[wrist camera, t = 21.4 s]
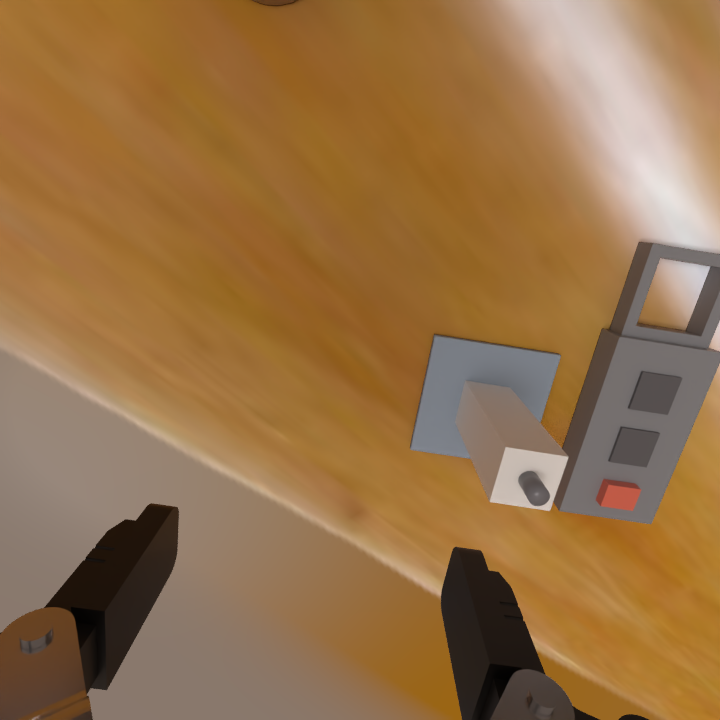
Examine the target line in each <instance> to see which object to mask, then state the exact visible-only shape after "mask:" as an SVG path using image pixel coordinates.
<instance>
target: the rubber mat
mask: <svg viewBox="0 0 720 720" xmlns="http://www.w3.org/2000/svg"><path fill="white" fill-rule="evenodd" d="M560 357H561V355H559V354H557V353H551V352H544V351H538V350H531V349H525V348H519V347H512V346H506V345H499V344H493V343H487V342H480V341H474V340H467V339H461V338H455V337H448V336H442V335H435V334H434V337H433V342H432V347H431V351H430V356H429V361H428V365H427V370H426V375H425V379H424V384H423V389H422V393H421V398H420V403H419V407H418V412H417V417H416V421H415V426H414V431H413V435H412V440H411V445H410V449H411V450H415V451H422V452H429V453H436V454H443V455H449V456H456V457H463V458H470V456H469V453H468V451H467V449H466V446H465V444H464V442H463V439H462V437H461V435H460V433H459V430H458V428H457V426H456V423H455V419H456V415H457V411H458V407H459V403H460V399H461V395H462V391H463V387H464V383H465V380H466V381H472V382H478V383H485V384H491V385H497V386H503V387H510V388H511V389H512V390H513V392H514V393H515V394H516V395H517V396H518V398H519V399H520V400H521V401H522V402H523V403H524V405H525V406H526V407H527V408H528V409H529V410H530V412H531V413H532V414H533V415H534V416H535V418H536V419H537V420H538V421H539V422H541V419H542V416H543V412H544V409H545V406H546V403H547V399H548V396H549V393H550V390H551V386H552V383H553V380H554V377H555V373H556V370H557V367H558V364H559V360H560ZM470 459H471V458H470Z"/></svg>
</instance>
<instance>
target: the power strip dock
mask: <svg viewBox="0 0 720 720" xmlns="http://www.w3.org/2000/svg"><path fill="white" fill-rule="evenodd" d="M660 258H664V259H670V260H676V261H682V262H688V263H694V264H701V265H707V266H711V268H710V271H709V273H708V276H707V278H706V281H705V284H704V286H703V289H702V291H701V294H700V296H699V299H698V301H697V304H696V307H695V309H694V312H693V314H692V317H691V319H690V322H689V324H688V327H687V330H686V331H682V330H676V329H670V328H664V327H657V326H651V325H645V324H639V323H637V322H638V319H639V316H640V313H641V310H642V308H643V305H644V302H645V299H646V296H647V293H648V291H649V288H650V285H651V282H652V279H653V277H654V274H655V271H656V268H657V265H658V263H659V260H660ZM719 320H720V254H714V253H708V252H702V251H696V250H690V249H684V248H678V247H672V246H666V245H660V244H654V243H643V242H639V244H638V247H637V250H636V253H635V256H634V259H633V262H632V265H631V268H630V270H629V273H628V276H627V279H626V282H625V285H624V288H623V291H622V294H621V297H620V300H619V303H618V306H617V309H616V312H615V315H614V318H613V321H612V324H611V327H610V330H607V329H602V331H601V334H600V337H599V340H598V343H597V346H596V349H595V352H594V355H593V358H592V361H591V364H590V367H589V370H588V373H587V376H586V379H585V382H584V385H583V388H582V391H581V394H580V397H579V400H578V403H577V406H576V409H575V412H574V415H573V418H572V421H571V424H570V427H569V430H568V433H567V436H566V439H565V442H564V445H563V448H562V449H563V451H564V452H565V453H566V454H567V455H568V457H569V458H568V461H567V463H566V466H565V469H564V472H563V475H562V478H561V481H560V484H559V486H558V489H557V492H556V495H555V498H554V501H553V502H554V503H555V505H556V507H557V508H558V510H559V511H563V512H570V513H577V514H584V515H591V516H598V517H605V518H612V519H619V520H626V521H633V522H640V523H647V524H651V523H652V521H653V519H654V516H655V514H656V512H657V509H658V507H659V505H660V502H661V500H662V497H663V495H664V493H665V490H666V488H667V486H668V483H669V481H670V479H671V476H672V474H673V472H674V469H675V467H676V465H677V462H678V460H679V458H680V455H681V453H682V450H683V448H684V446H685V443H686V441H687V439H688V436H689V434H690V432H691V429H692V427H693V425H694V422H695V420H696V418H697V415H698V413H699V410H700V408H701V406H702V403H703V401H704V399H705V396H706V394H707V392H708V389H709V387H710V385H711V382H712V380H713V378H714V375H715V373H716V371H717V368H718V366H719V363H720V352H719V351H716V350H714V349H711V348H708V347H709V345H710V342H711V340H712V337H713V335H714V333H715V330H716V328H717V325H718V323H719Z"/></svg>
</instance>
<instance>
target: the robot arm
mask: <svg viewBox="0 0 720 720" xmlns="http://www.w3.org/2000/svg"><path fill="white" fill-rule="evenodd" d="M252 1H255V2H258V3H262V4H265V5H283V4H288V3H292V2H294V1H296V0H252ZM178 518H179V511H178V508H177V507H172V506H166V505H159V504H149V505H148V506H147V507H146V508H145V510H144V511H143V512H142V513H141V515H140V516H139V517H138V519H137V520H136V521H134V520H124V521H122V522H121V523H119V524H118V525H116V526H115V527H113V528H111V529H110V530H108V531H107V532H106V534H105V535H104V536H103V537H102V539H101V540H100V541H99V542H98V543H97V545H96V547H95V548H94V549H92V551H91V552H90V553H89V554H88V556H87V557H86V559H85V561H82V563H81V564H80V565H79V566H78V567H77V569H76V570H75V571H74V572H73V574H72V575H71V576H70V577H69V578H68V580H67V581H66V582H65V583H64V585H63V586H62V587H61V588H60V589H59V590H58V592H57V593H56V594H55V595H54V597H53V598H52V599H51V600H50V602H49V603H48V604H47V605H46V606H45V607H44V608H41V609H38V610H34V611H32V612H29V613H27V614H25V615H23V616H21V617H19V618H18V619H16V620H15V621H13V622H12V623H11V624H9V625H8V626H7V627H6V628H5V629H4V631H3V632H1V633H0V720H93V719H92V712H91V707H90V701H89V697H88V696H87V693H88V692H89V690H90V688H94V689H102V690H107V689H108V687H109V685H110V683H111V682H112V680H113V678H114V676H115V674H116V672H117V671H118V669H119V667H120V665H121V663H122V662H123V660H124V658H125V656H126V654H127V652H128V651H129V649H130V647H131V645H132V643H133V642H134V640H135V638H136V636H137V634H138V633H139V631H140V629H141V627H142V625H143V623H144V622H145V620H146V618H147V616H148V614H149V613H150V611H151V609H152V607H153V605H154V603H155V602H156V600H157V598H158V596H159V594H160V593H161V591H162V589H163V587H164V585H165V583H166V581H167V580H168V578H169V576H170V574H171V572H172V570H173V567H174V564H175V560H176V556H177V544H178ZM441 609H442V616H443V621H444V627H445V632H446V637H447V642H448V648H449V653H450V658H451V663H452V669H453V674H454V679H455V684H456V689H457V695H458V700H459V705H460V711H461V716H462V720H599V719H597V718H595V717H593V716H590V715H588V714H586V713H584V712H582V711H580V710H578V709H576V708H575V707H573V706H572V703H571V702H570V699H569V698H568V696H567V695H566V693H565V692H564V691H563V689H562V688H561V687H560V686H559V685H558V684H557V683H556V682H555V681H554V680H552V679H551V678H549V677H548V676H546V675H545V673H544V670H543V667H542V665H541V662H540V659H539V657H538V654H537V652H536V649H535V647H534V644H533V642H532V639H531V637H530V634H529V631H528V629H527V626H526V624H525V621H523V616H522V614H521V611H520V608H519V607H518V603H517V601H516V598H515V596H514V593H513V591H512V588H511V587H510V585H509V584H508V583H507V582H506V580H505V579H504V578H503V577H502V576H501V574H500V573H499V572H495V571H489V570H488V567H487V564H486V562H485V559H484V556H483V553H482V552H481V551H480V550H474V549H467V548H459V547H455V548H454V549H453V551H452V554H451V558H450V561H449V565H448V569H447V573H446V576H445V580H444V584H443V588H442V594H441ZM619 720H648V719H646V718H644V717H641V716H638V715H632V714H631V715H630V714H629V715H624V716H622V717H621V718H620V719H619Z"/></svg>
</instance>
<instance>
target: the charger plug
mask: <svg viewBox="0 0 720 720" xmlns="http://www.w3.org/2000/svg"><path fill="white" fill-rule="evenodd" d="M455 423H456V426H457V428H458V430H459V433H460V435H461V437H462V439H463V442H464V444H465V446H466V449H467V451H468V453H469V456H470V458H471V460H472V463H473V465H474V467H475V469H476V472H477V474H478V476H479V479H480V481H481V483H482V486H483V488H484V490H485V492H486V495H487V497H488V499H489V502H494V503H500V504H507V505H514V506H520V507H527V508H534V509H540V510H547V511H550V509H551V507H552V504H553V501H554V498H555V495H556V492H557V489H558V486H559V484H560V481H561V478H562V475H563V472H564V469H565V466H566V463H567V461H568V458H569V457H568V455H567V454H566V453H565V452H564V451H563V449H562V448H561V447H560V446H559V445H558V444H557V442H556V441H555V440H554V439H553V438H552V436H551V435H550V434H549V433H548V432H547V431H546V429H545V428H544V427H543V426H542V425H541V423H540V422H539V421H538V420H537V419H536V418H535V416H534V415H533V414H532V413H531V412H530V410H529V409H528V408H527V407H526V406H525V405H524V403H523V402H522V401H521V400H520V399H519V398H518V396H517V395H516V394H515V393H514V392H513V390H512V389H511V388H510V387H503V386H497V385H491V384H485V383H478V382H472V381H466V380H465V383H464V387H463V391H462V395H461V399H460V403H459V407H458V411H457V415H456V419H455Z"/></svg>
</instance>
